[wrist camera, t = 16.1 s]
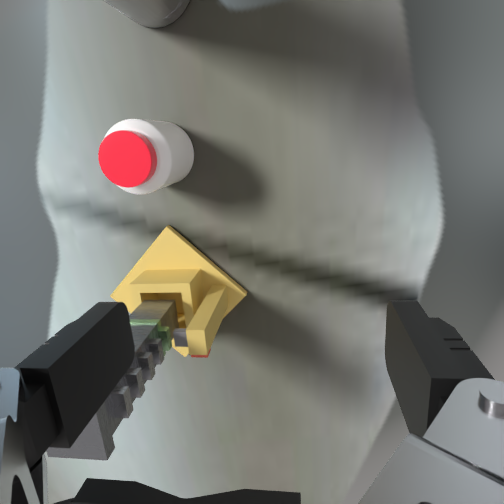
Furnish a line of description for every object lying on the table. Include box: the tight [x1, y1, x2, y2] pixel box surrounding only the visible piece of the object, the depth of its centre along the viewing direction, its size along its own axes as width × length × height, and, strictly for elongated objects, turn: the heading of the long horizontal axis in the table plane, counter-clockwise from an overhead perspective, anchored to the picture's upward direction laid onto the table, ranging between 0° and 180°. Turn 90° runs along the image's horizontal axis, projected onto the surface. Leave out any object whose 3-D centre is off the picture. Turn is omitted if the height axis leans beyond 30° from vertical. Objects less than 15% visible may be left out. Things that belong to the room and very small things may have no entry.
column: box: [46, 300, 179, 460], centre depth 37 cm, size 6×5×19 cm
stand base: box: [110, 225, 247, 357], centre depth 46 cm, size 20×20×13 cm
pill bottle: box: [98, 119, 194, 195], centre depth 41 cm, size 8×8×11 cm
